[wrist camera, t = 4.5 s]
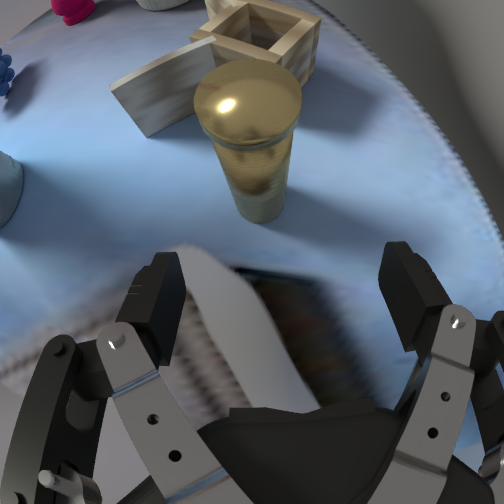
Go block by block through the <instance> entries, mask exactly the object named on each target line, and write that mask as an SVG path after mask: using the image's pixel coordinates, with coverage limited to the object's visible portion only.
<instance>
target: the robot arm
mask: <svg viewBox="0 0 504 504" xmlns="http://www.w3.org/2000/svg"><path fill="white" fill-rule="evenodd" d="M23 177H24V176H23V169H22V166H21V164H20V163H19V162H18V161H16V160H15V159H13V158H12V157H11V156H9V155H7V154H5V153H3V152H2V151H0V227H1V226H3V225H4V224H5V223H6V222H7V221H8V220H9V218H10V217H11V216H12V214H13V212H14V210H15V208H16V206H17V204H18V201H19V199H20V195H21V192H22V187H23ZM378 282H379V287H380V290H381V292H382V295H383V297H384V299H385V302H386V304H387V307H388V309H389V312H390V314H391V317H392V319H393V322H394V324H395V327H396V329H397V332H398V334H399V337H400V340H401V342H402V345H403V348H404V351H405V352H409V351H415V350H416V353H417V355H418V358H417V360H416V362H415V365H414V367H413V370H412V373H411V375H410V377H409V380H408V382H407V385H406V387H405V389H404V392H403V394H402V396H401V398H400V400H399V402H398V404H397V406H396V407H395V409H394V411H393V410H390V409H387V408H384V407H378V406H374V402H373V398H372V397H370V398H363V399H357V400H350V401H342V402H338V403H335V404H332V405H329V406H326V407H324V408H321V409H318V410H315V411H312V412H309V413H304V414H300V413H294V412H288V411H282V410H277V409H271V408H266V407H265V408H230V412H229V417H225V418H221V419H218V420H215V421H213V422H211V423H209V424H207V425H205V426H203V427H202V428H200V429H199V430H197V431H196V430H195V429H194V428H193V426H192V425H191V423H190V422H189V420H188V419H187V417H186V416H185V414H184V413H183V411H182V410H181V408H180V407H179V405H178V404H177V402H176V401H175V399H174V397H173V396H172V394H171V393H170V391H169V389H168V388H167V386H166V384H165V383H164V381H163V379H162V378H161V376H160V374H159V373H158V368H159V366H169V365H170V361H171V356H172V352H173V347H174V343H175V339H176V334H177V330H178V326H179V322H180V318H181V314H182V309H183V305H184V301H185V297H186V285H185V281H184V277H183V273H182V269H181V265H180V261H179V258H178V254H177V253H176V252H159V253H156V254H155V256H154V259H153V261H152V263H151V265H150V266H144V267H143V268H142V269H141V270H140V271H139V272H138V273H137V274H136V276H135V278H134V280H133V282H132V284H131V285H132V286H130V289H129V291H128V295H126V298H125V300H124V302H123V304H122V307H121V309H120V311H119V314H118V316H117V318H116V321H115V323H112V324H110V325H108V326H106V327H105V328H104V329H103V330H102V331H101V332H100V333H99V335H98V337H97V339H96V340H92V341H87V342H82V343H78V344H76V342H75V341H74V339H73V338H72V337H71V336H69V335H58V336H56V337H54V338H52V339H51V340H50V341H49V342H48V343H47V344H46V346H45V347H44V349H43V352H42V354H41V356H40V359H39V361H38V363H37V366H36V368H35V371H34V373H33V376H32V378H31V381H30V384H29V386H28V389H27V392H26V395H25V397H24V400H23V403H22V406H21V409H20V412H19V416H18V419H17V422H16V425H15V428H14V432H13V436H12V439H11V443H10V447H9V451H8V455H7V459H6V463H5V468H4V473H3V478H2V483H1V489H0V503H1V504H102V496H101V493H100V490H99V487H98V485H97V484H96V483H95V482H94V481H93V480H92V478H93V471H94V465H95V459H96V453H97V448H98V442H99V437H100V431H101V427H102V422H103V417H104V412H105V408H106V404H107V400H108V397H112V398H113V401H114V404H115V406H116V408H117V410H118V413H119V415H120V417H121V419H122V421H123V423H124V426H125V428H126V430H127V432H128V434H129V436H130V438H131V440H132V442H133V444H134V445H135V448H136V449H137V451H138V453H139V455H140V457H141V459H142V461H143V462H144V464H145V466H146V468H147V469H148V471H149V473H150V475H149V476H148V477H147V478H146V479H145V480H144V481H143V482H141V483H140V484H139V485H138V486H137V487H136V488H135V489H133V490H132V491H131V492H130V493H129V494H128V495H126V496H125V497H124V498H123V499H122V500H120V501H119V502H118V503H117V504H504V390H503V387H502V384H501V381H500V379H499V376H498V374H497V371H496V369H495V367H496V366H497V365H498V363H499V362H500V364H501V367H502V369H503V372H504V311H497V312H496V313H495V314H494V316H493V317H492V319H491V321H485V320H478V319H475V318H474V316H473V314H472V313H471V312H470V311H469V310H468V309H467V308H465V307H463V306H461V305H457V304H453V303H452V301H451V300H450V298H449V296H448V295H447V293H446V291H445V290H444V288H443V286H442V285H441V283H440V281H439V280H438V279H437V277H436V275H435V273H434V272H432V269H431V267H430V266H429V264H428V263H427V261H426V260H425V259H423V258H422V257H421V256H420V255H418V254H417V253H413V251H412V250H411V248H410V247H409V245H408V244H407V243H406V242H405V241H397V242H387V243H386V245H385V248H384V252H383V257H382V261H381V266H380V270H379V275H378ZM70 394H71V395H70ZM69 397H70V399H69ZM469 398H471V401H472V404H473V408H474V411H475V415H476V418H477V422H478V426H479V430H480V434H481V438H482V442H483V446H484V451H485V456H484V459H483V462H482V465H481V466H480V468H479V470H478V474H477V473H476V472H475V471H473V470H472V469H471V468H469V467H468V466H467V465H466V464H464V463H463V462H462V461H460V460H459V459H458V458H456V457H455V456H454V455H453V454H452V453H453V451H454V448H455V445H456V442H457V439H458V436H459V433H460V430H461V427H462V423H463V420H464V416H465V413H466V409H467V405H468V402H469ZM68 401H69V402H68ZM67 404H68V405H67ZM66 408H67V409H66Z"/></svg>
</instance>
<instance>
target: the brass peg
mask: <svg viewBox="0 0 504 504" xmlns="http://www.w3.org/2000/svg"><path fill="white" fill-rule="evenodd" d="M301 106H302V90H301V87H300V84H299V82H298V81H297V79H296V78H295V77H294V75H293V74H292V73H291V72H289V71H288V70H287V69H285V68H284V67H282V66H280V65H278V64H276V63H273V62H270V61H266V60H261V59H241V60H236V61H231V62H228V63H225V64H223V65H221V66H219V67H217V68H215V69H214V70H212V71H211V72H210V73H209V74H207V75H206V76H205V77H204V78H203V80H202V81H201V82H200V84H199V85H198V87H197V89H196V92H195V95H194V109H195V112H196V115H197V117H198V120H199V122H200V125H201V127H202V129H203V131H204V132H205V134H206V135H207V136H208V137H209V138H210V139H211V140H212V143H213V146H214V148H215V151H216V153H217V156H218V159H219V161H220V164H221V167H222V169H223V172H224V175H225V177H226V180H227V183H228V185H229V188H230V190H231V193H232V196H233V198H234V201H235V204H236V206H237V209H238V211H239V213H240V214H241V215H242V217H244V218H245V219H246V220H248V221H250V222H252V223H257V224H263V223H267V222H270V221H272V220H274V219H275V218H277V217H278V215H279V214H280V213H281V211H282V209H283V206H284V200H285V193H286V186H287V178H288V171H289V163H290V155H291V147H292V139H293V131H294V129H295V128H296V126H297V124H298V121H299V118H300V113H301Z"/></svg>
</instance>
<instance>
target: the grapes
mask: <svg viewBox="0 0 504 504" xmlns="http://www.w3.org/2000/svg"><path fill="white" fill-rule="evenodd" d="M1 55H2V49H1V48H0V96H4V95H6V94H7V92H8V91H9V88H10V87H9V83H8V82H10V81H11V80H12V79H13V78H14V75H15V72H14V70H13V69H12V68H8V67H9V66H10V65H11V62H12V58H11V56H9V55H3V56H1Z"/></svg>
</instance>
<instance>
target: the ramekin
mask: <svg viewBox="0 0 504 504" xmlns="http://www.w3.org/2000/svg"><path fill="white" fill-rule="evenodd" d="M136 1H137V2H138V4H139V5H140V6H141V7H142V8H144V9H147V10H151V11H158V10H166V9H170V8H173V7H176V6H179V5H181V4H184V3H186V2H188V1H189V0H136Z"/></svg>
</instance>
